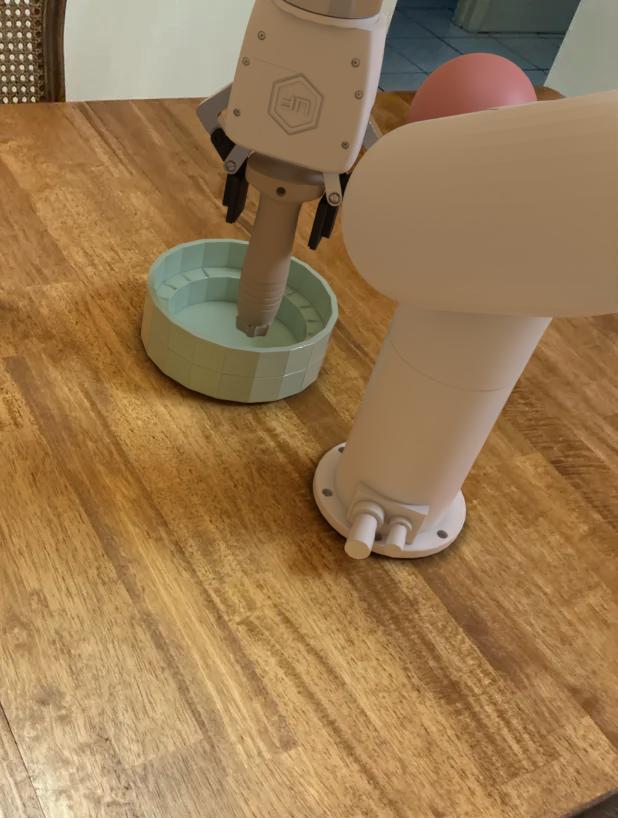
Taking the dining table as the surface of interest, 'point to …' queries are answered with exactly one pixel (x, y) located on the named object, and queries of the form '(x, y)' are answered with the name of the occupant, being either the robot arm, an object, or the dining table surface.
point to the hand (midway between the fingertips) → (275, 227)
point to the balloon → (470, 87)
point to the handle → (272, 237)
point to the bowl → (233, 325)
